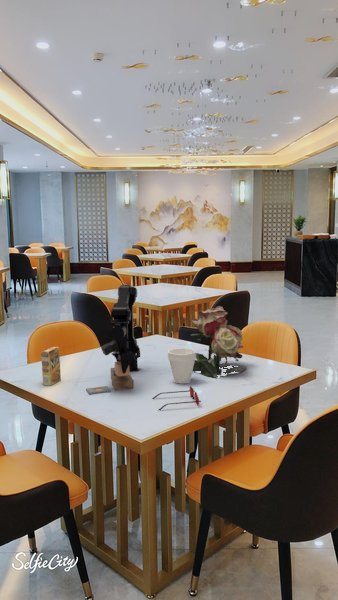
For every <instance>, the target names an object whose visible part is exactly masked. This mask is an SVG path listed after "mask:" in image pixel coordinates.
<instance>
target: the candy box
mask: <svg viewBox="0 0 338 600" xmlns="http://www.w3.org/2000/svg"><path fill="white" fill-rule="evenodd" d="M40 352H41V353H40V355H41V370H42V385H43V386H52V385H54V384H56V383H59V382H60V381H61V380H62V375H61V360H60V359H61V358H60V355H61V354H60V347H59V346H50V347H48V348H46V349H44V350H41V351H40Z"/></svg>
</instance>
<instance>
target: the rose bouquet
mask: <svg viewBox="0 0 338 600" xmlns="http://www.w3.org/2000/svg"><path fill="white" fill-rule="evenodd" d="M197 314H198V315H197V316H198V317H199V319H198V320H190V321H191V322H192V323H193V324H194V326H195V327H196V329H197V330H198V331H199V332H200V333H192V334H190V337H205V339H209V341H210V342H209V346H208V350H207V349H206V348H205V349H204V350H205V351H206V350H207V351H208V352H207V353H208V356H207V357H206V356H205V355H204V354H202V353H199V352H196V359H195V362H194V366H193V371H201V373H200V374H201V375H204V376H207V377H213V378H216V379H218V378H217V377H218V376H217V375H219V373H220V372H219V371H220V370H219V367H220V368H222V367H223V369H227V370H226V372H223V373H225V374H226V373H227V374H228V373H231V372H234V371H235V372H240V373H242V372H244V371H245V369H247V366H243V367H242V366H241V365H237V366H238V367H234V366H232V367H233V368H230V369H228V368H224V367H227V366H230V365H231V364H229V363H228V358H233V359H235V361H236V362H240V361H239V359H242V358H243V354H241V352H239V350H240V349H241V348H244V345H243V344H242V341H243V334H242V333H243V331H242V330H241V329H240V328H239V327H236V326H234V325H233V326H232V325H231V324H228V322H229V321H228V320H227V319H226V317H227V315H228V312H227V311H226V310H224V308H223V306H221V305H217V306H216V307H212V306H211V308H208V309H205V311H199V312H197ZM196 340H197V341H202V338H197V339H196ZM212 356H213V357H212ZM224 358H225V360H226V361H225V362H224V363H223V362H222V359H224ZM221 363H222V364H221ZM228 375H229V374H228Z"/></svg>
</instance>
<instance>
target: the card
mask: <svg viewBox="0 0 338 600" xmlns="http://www.w3.org/2000/svg"><path fill="white" fill-rule="evenodd" d="M85 391H86V392H87V393H88V395H89V396H90V395H98V394H105V393H111V392H112V391H111V388H110V387H109V386H108V385H104V386H96V387H88V388H85Z"/></svg>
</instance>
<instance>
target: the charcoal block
mask: <svg viewBox="0 0 338 600" xmlns="http://www.w3.org/2000/svg"><path fill="white" fill-rule="evenodd" d="M112 376H117V375H116V374H115V367H110V379H111V380H112Z"/></svg>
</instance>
